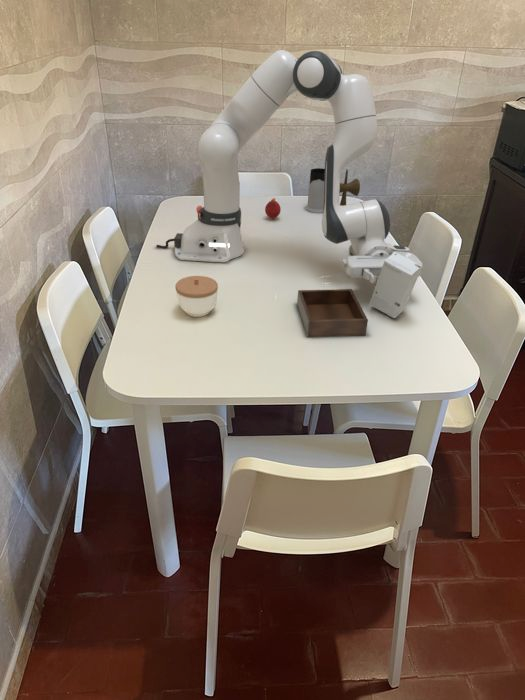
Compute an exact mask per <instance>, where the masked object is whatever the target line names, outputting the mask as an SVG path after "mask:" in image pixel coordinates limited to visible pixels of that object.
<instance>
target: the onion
mask: <svg viewBox="0 0 525 700" xmlns="http://www.w3.org/2000/svg"><path fill="white" fill-rule="evenodd" d="M281 211H282V208H281V205H280V203H279V202H278V201H276V198H275V197H273V198H271V199H270V200H269V202H267V203H266V205H265V208H264V212H265V215H266V216H267V217H268V218H269V219H271V220H275V219H276V218H277V217H279V216H280V214H281Z"/></svg>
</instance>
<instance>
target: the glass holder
mask: <svg viewBox="0 0 525 700" xmlns="http://www.w3.org/2000/svg"><path fill="white" fill-rule="evenodd" d="M309 173H310V174H309V182H308V193H307V194H308V195H307V196H308V197H307V205H306V208H305V210H306V211H307V212H310V213H315V214H323V210H324V176H325V168H322V167H321V168H319V167H318V168H311V169H310V172H309Z"/></svg>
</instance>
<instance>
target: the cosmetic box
mask: <svg viewBox="0 0 525 700" xmlns="http://www.w3.org/2000/svg"><path fill="white" fill-rule="evenodd" d="M421 268H422V266H421V265H419V264H417V263H415V262H413V261H412V260H410V259H409V258H407V257H404V256H402V255H400V254H398V253H396V252H394V253H393V254H392V255H390V256H389V257H388V258H387V259H386V260H385V261H384V264H383V266H382V269H381V272H380V275H379V278H378V279H377V282H376V283H375V287H374V289H373V292H372V294H371V298H370V301H369V306H370V307H373V308H374V309H377V310H379V311H380V312H382V313H384V314H386V315H387V316H389V317H390V318H392V319H396V318H397V317H398V316H399V315H400V314H401V313H402V312H403V311H404V310H406V307H407V304H408V302H409V299H410V297H411V295H412V293H413V290H414V287H415V285H416V283H417V281H418V278H419V277H418V275H419V273H420V271H421ZM422 269H423V268H422Z"/></svg>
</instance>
